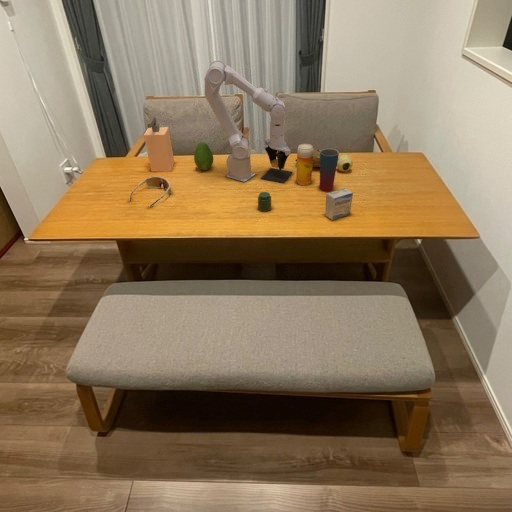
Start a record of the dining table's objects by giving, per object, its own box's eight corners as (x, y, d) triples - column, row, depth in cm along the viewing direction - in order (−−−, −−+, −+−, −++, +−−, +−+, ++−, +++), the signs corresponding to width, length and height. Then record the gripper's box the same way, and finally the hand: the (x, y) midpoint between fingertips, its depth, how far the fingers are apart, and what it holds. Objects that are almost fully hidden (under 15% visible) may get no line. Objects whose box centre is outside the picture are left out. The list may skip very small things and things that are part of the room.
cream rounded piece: (335, 167, 165) (336, 152, 161) (351, 167, 164) (353, 152, 160) (336, 173, 160) (337, 158, 156) (352, 174, 159) (354, 158, 155)
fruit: (206, 163, 171) (203, 137, 164) (218, 168, 167) (215, 141, 160) (192, 169, 167) (188, 142, 160) (203, 175, 163) (200, 147, 155)
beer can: (310, 186, 152) (313, 150, 143) (295, 185, 153) (296, 149, 144) (311, 179, 157) (314, 143, 147) (297, 178, 158) (298, 142, 149)
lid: (286, 165, 156) (286, 162, 155) (275, 168, 154) (275, 165, 153) (278, 161, 160) (278, 157, 159) (268, 164, 158) (268, 161, 157)
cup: (337, 186, 151) (341, 149, 142) (332, 194, 147) (336, 157, 137) (320, 183, 154) (323, 147, 145) (315, 190, 149) (317, 154, 140)
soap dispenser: (155, 163, 173) (145, 113, 160) (174, 162, 173) (166, 113, 159) (149, 176, 163) (137, 124, 150) (169, 175, 163) (159, 123, 149)
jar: (255, 209, 140) (255, 195, 136) (262, 203, 143) (262, 189, 139) (266, 213, 137) (266, 199, 134) (273, 207, 140) (273, 193, 137)
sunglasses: (178, 190, 152) (175, 180, 148) (154, 213, 143) (150, 202, 140) (151, 183, 158) (147, 172, 154) (126, 204, 149) (122, 194, 145)
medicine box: (331, 220, 132) (334, 198, 127) (324, 214, 135) (326, 193, 130) (350, 214, 135) (353, 192, 130) (342, 209, 138) (345, 187, 133)
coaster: (261, 179, 158) (261, 177, 158) (270, 169, 165) (270, 167, 165) (283, 183, 155) (283, 182, 154) (292, 173, 162) (292, 171, 161)
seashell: (330, 174, 162) (335, 151, 156) (296, 172, 161) (299, 149, 155) (326, 163, 171) (330, 141, 165) (293, 161, 170) (296, 139, 164)
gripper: (297, 136, 146) (296, 169, 154) (274, 126, 155) (274, 157, 164) (282, 141, 143) (282, 174, 151) (260, 130, 152) (260, 162, 161)
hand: (277, 166), depth 157 cm, fingers closed on lid, 5 cm apart
